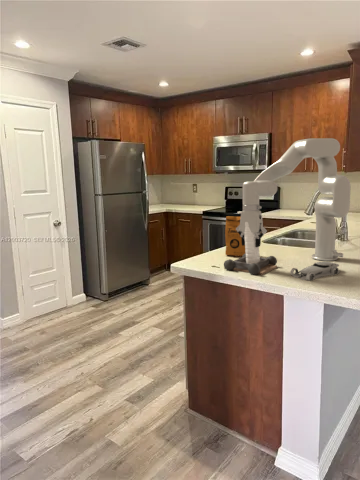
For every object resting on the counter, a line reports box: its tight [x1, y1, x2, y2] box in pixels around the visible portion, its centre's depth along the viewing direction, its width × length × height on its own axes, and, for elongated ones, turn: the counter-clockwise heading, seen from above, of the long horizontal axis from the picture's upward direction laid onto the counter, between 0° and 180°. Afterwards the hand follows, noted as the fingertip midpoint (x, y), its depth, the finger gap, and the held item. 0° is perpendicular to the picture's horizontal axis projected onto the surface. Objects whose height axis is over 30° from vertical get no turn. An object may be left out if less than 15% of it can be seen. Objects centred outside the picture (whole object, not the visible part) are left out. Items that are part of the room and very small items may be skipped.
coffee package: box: [224, 215, 246, 257], centre depth 195 cm, size 10×12×22 cm
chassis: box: [223, 253, 278, 276], centre depth 168 cm, size 20×19×5 cm
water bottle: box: [237, 210, 261, 264], centre depth 167 cm, size 9×6×25 cm
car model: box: [290, 261, 341, 281], centre depth 156 cm, size 11×24×5 cm, turn 120°
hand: (250, 245), depth 167 cm, fingers closed on water bottle, 6 cm apart
